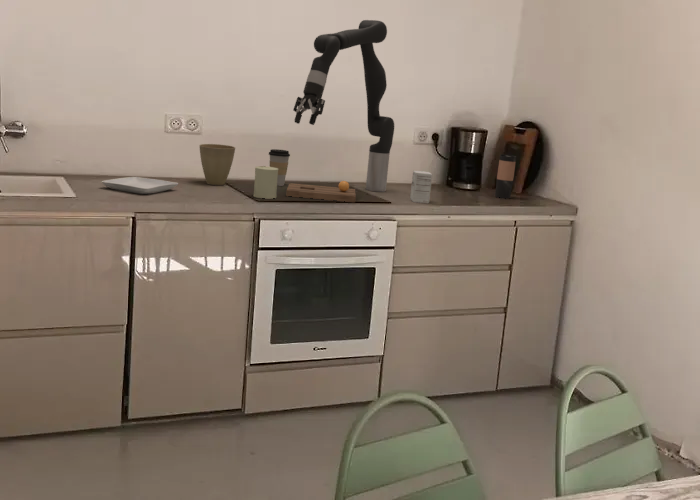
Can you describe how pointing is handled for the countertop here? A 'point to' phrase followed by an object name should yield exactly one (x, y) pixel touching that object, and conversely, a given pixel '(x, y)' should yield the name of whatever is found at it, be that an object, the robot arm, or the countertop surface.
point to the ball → (343, 186)
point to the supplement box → (421, 186)
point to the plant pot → (216, 162)
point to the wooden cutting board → (320, 192)
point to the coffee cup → (279, 163)
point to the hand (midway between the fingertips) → (303, 123)
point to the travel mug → (505, 176)
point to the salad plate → (139, 185)
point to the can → (265, 182)
